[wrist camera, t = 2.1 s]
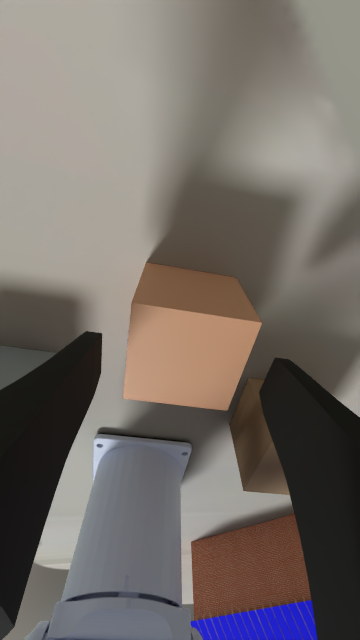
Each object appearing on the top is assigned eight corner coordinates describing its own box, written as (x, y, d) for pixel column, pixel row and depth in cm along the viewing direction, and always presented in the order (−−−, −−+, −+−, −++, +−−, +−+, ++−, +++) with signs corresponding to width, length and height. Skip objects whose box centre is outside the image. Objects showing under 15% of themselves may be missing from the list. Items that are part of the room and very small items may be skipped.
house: (187, 539, 31) (192, 713, 21) (351, 494, 26) (460, 695, 16) (229, 568, 36) (250, 719, 26) (373, 535, 31) (467, 707, 21)
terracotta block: (213, 348, 16) (227, 410, 12) (137, 337, 16) (122, 398, 12) (235, 277, 14) (262, 322, 10) (146, 261, 13) (131, 302, 9)
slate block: (62, 404, 19) (28, 473, 14) (-8, 396, 18) (-65, 465, 14) (58, 352, 16) (16, 415, 12) (-23, 341, 16) (-98, 403, 12)
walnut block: (287, 429, 21) (317, 497, 16) (229, 422, 20) (243, 490, 16) (314, 385, 18) (357, 451, 14) (248, 377, 18) (271, 442, 13)
